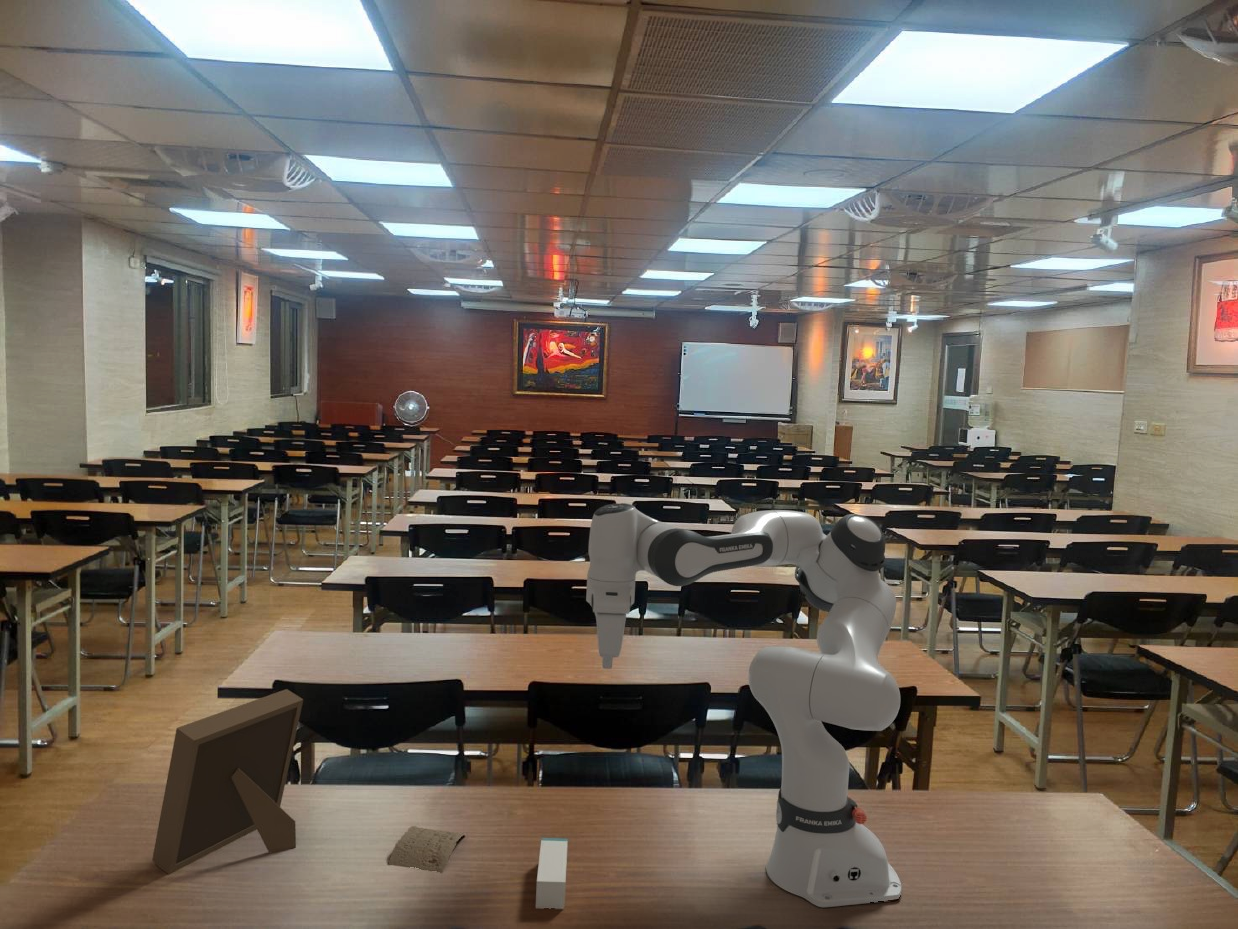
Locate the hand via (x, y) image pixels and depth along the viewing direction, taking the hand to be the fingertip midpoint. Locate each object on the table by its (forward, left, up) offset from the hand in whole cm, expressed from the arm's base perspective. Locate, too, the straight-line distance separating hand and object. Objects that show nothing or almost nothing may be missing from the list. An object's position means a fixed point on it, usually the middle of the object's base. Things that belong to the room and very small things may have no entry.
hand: (607, 666), depth 159 cm
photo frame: (+62, +11, -31) cm, 70 cm away
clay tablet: (+30, +9, -32) cm, 45 cm away
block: (+8, +12, -29) cm, 32 cm away
